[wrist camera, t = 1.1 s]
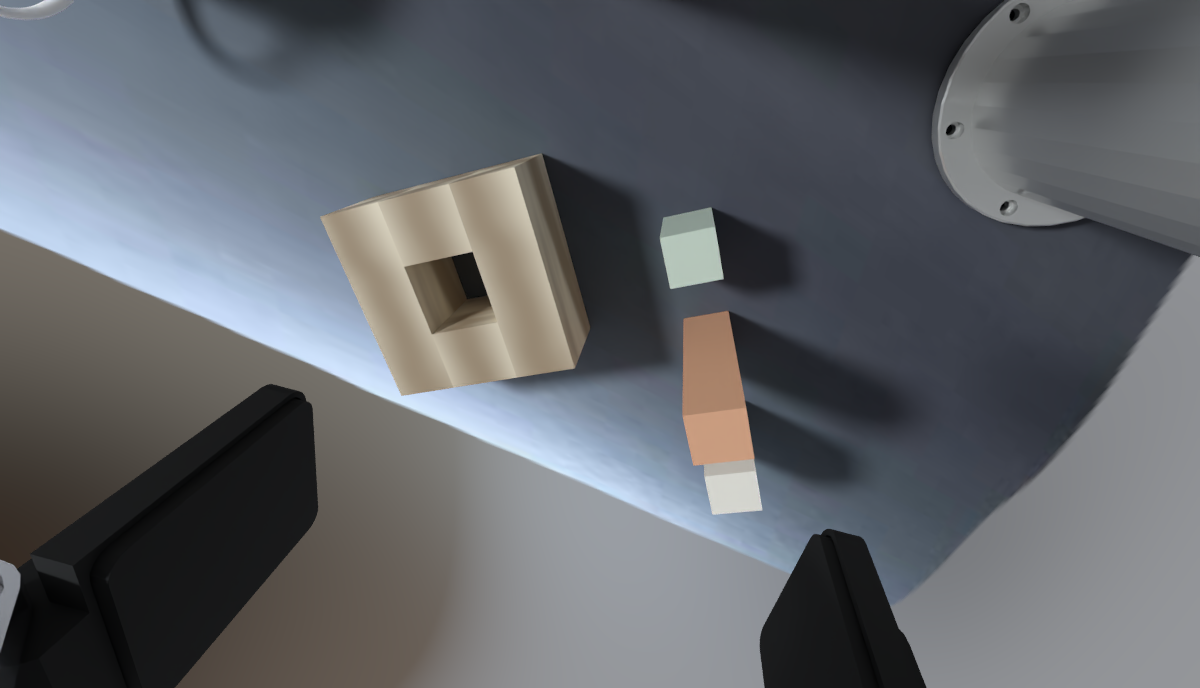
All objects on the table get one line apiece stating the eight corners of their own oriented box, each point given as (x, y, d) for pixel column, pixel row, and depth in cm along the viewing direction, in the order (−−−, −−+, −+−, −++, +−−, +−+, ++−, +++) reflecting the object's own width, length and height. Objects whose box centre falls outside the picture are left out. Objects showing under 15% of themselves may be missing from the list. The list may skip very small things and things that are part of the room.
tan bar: (728, 310, 36) (746, 407, 25) (734, 350, 37) (754, 458, 26) (683, 318, 37) (682, 415, 26) (691, 357, 38) (693, 465, 27)
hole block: (541, 153, 33) (514, 167, 28) (590, 328, 38) (574, 368, 33) (374, 196, 36) (320, 216, 31) (438, 354, 41) (401, 395, 35)
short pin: (711, 207, 33) (715, 226, 29) (719, 253, 34) (723, 278, 30) (663, 217, 34) (659, 238, 30) (672, 262, 35) (670, 289, 31)
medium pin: (742, 399, 39) (755, 471, 32) (748, 433, 40) (762, 510, 33) (701, 405, 39) (704, 476, 32) (707, 438, 41) (712, 514, 34)
